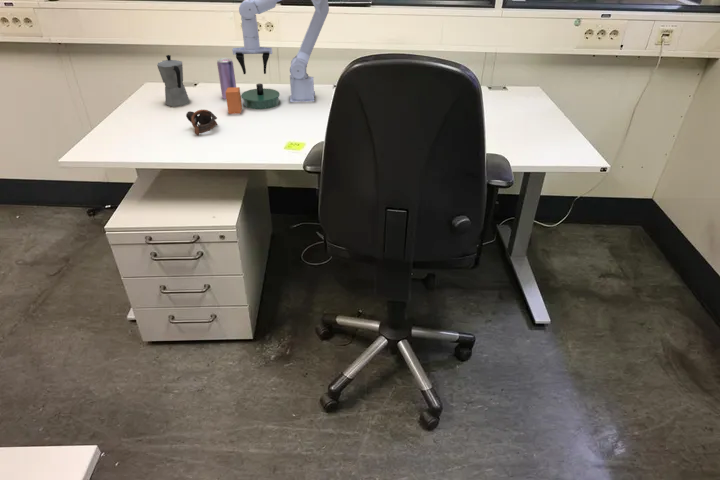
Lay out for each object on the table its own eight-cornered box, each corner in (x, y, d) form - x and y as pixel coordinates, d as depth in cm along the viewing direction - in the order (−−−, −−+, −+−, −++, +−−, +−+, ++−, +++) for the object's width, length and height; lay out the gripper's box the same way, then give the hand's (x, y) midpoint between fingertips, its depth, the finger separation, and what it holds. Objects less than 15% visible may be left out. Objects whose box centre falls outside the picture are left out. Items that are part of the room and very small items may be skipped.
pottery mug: (225, 127, 175) (221, 112, 168) (211, 147, 171) (207, 132, 164) (194, 115, 176) (189, 99, 169) (180, 134, 172) (174, 119, 165)
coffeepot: (160, 100, 196) (149, 53, 186) (183, 96, 201) (174, 49, 191) (173, 111, 186) (163, 62, 176) (197, 107, 191) (189, 58, 180)
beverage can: (235, 101, 196) (230, 61, 188) (220, 100, 197) (214, 61, 188) (239, 96, 201) (234, 57, 193) (224, 95, 201) (218, 57, 193)
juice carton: (242, 109, 189) (239, 87, 184) (240, 114, 184) (237, 92, 179) (230, 109, 188) (227, 87, 183) (228, 115, 184) (225, 92, 179)
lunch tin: (279, 98, 199) (278, 89, 197) (278, 110, 188) (277, 101, 186) (245, 99, 198) (244, 90, 196) (242, 111, 187) (241, 101, 185)
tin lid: (280, 90, 198) (279, 78, 195) (278, 103, 186) (277, 90, 184) (243, 91, 197) (242, 79, 194) (239, 104, 185) (237, 90, 182)
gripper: (229, 38, 180) (234, 76, 188) (270, 38, 181) (273, 76, 189) (231, 34, 186) (236, 71, 194) (271, 34, 187) (274, 70, 195)
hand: (254, 73), depth 192 cm, fingers open, 7 cm apart
